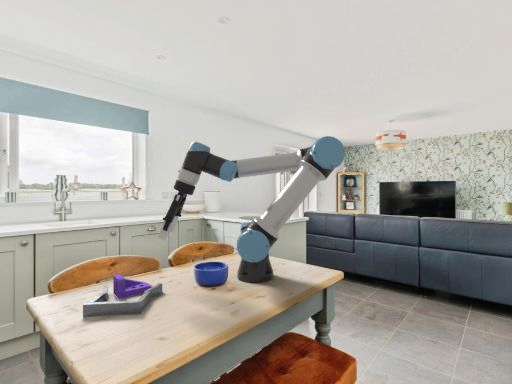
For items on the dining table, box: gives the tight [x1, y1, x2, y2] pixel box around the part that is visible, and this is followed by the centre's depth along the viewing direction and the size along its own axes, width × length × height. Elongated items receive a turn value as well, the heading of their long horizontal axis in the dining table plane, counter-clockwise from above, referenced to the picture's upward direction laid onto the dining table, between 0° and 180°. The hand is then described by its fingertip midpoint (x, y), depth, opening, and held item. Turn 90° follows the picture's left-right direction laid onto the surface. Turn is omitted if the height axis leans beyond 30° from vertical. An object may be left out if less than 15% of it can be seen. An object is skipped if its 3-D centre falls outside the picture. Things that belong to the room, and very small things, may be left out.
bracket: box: [112, 273, 154, 300], centre depth 101 cm, size 12×7×7 cm, turn 131°
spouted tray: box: [82, 282, 163, 318], centre depth 91 cm, size 20×19×4 cm
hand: (165, 234), depth 105 cm, fingers open, 13 cm apart
